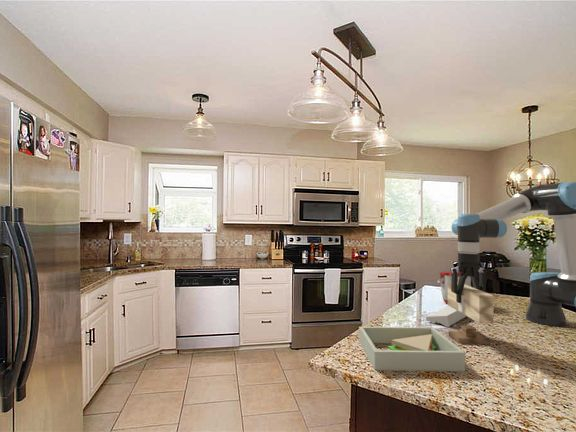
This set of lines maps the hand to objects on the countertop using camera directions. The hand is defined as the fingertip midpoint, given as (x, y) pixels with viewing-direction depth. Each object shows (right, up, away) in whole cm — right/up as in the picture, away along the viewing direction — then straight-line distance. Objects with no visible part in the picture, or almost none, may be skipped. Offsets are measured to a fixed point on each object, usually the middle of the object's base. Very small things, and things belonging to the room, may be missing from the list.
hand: (468, 311), depth 127 cm
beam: (0, -1, 0) cm, 1 cm away
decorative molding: (+5, -12, +33) cm, 36 cm away
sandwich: (-24, -12, -13) cm, 30 cm away
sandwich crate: (-30, -11, -15) cm, 35 cm away
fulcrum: (0, -11, 0) cm, 11 cm away
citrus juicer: (+23, -12, +55) cm, 60 cm away
